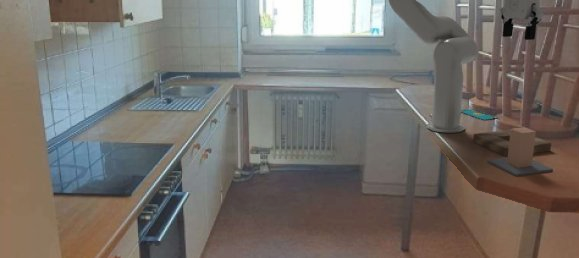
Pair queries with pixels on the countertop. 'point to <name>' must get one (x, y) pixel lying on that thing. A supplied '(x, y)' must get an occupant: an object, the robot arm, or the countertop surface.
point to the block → (521, 147)
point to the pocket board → (505, 142)
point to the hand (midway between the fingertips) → (518, 38)
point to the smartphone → (476, 114)
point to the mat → (520, 171)
